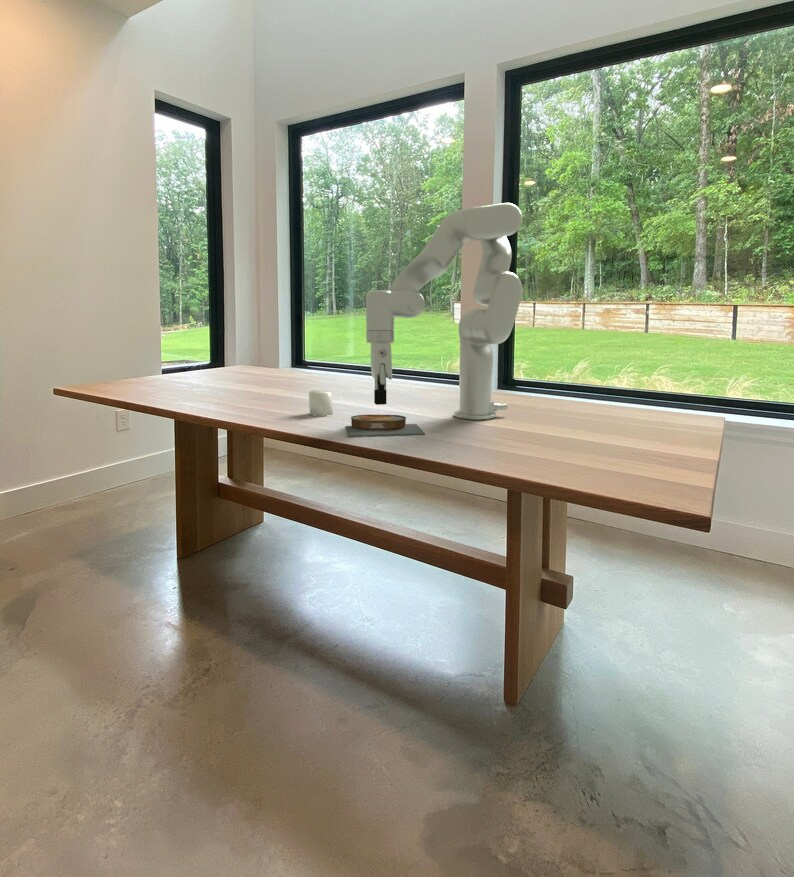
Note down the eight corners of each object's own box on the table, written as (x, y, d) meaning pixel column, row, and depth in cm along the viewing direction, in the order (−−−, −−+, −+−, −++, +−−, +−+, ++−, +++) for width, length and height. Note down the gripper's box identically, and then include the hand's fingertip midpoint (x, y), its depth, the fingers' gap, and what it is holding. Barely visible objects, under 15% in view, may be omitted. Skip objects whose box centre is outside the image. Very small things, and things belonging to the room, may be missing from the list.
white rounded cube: (332, 412, 185) (331, 389, 184) (333, 416, 179) (332, 393, 177) (309, 412, 184) (308, 390, 183) (309, 416, 178) (309, 393, 176)
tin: (406, 414, 165) (405, 418, 157) (406, 426, 166) (405, 430, 157) (352, 414, 166) (349, 417, 157) (352, 425, 166) (349, 429, 158)
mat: (416, 425, 166) (416, 423, 166) (424, 434, 154) (425, 433, 154) (345, 427, 163) (345, 425, 163) (348, 437, 151) (348, 435, 151)
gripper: (397, 338, 153) (397, 408, 157) (390, 335, 167) (390, 399, 172) (369, 338, 152) (369, 409, 156) (363, 335, 166) (364, 399, 170)
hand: (380, 403), depth 164 cm, fingers closed
